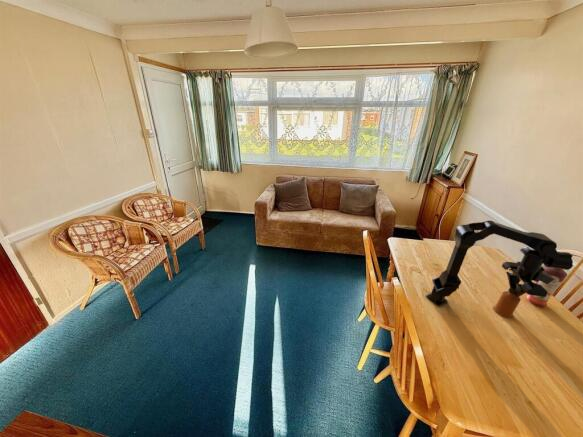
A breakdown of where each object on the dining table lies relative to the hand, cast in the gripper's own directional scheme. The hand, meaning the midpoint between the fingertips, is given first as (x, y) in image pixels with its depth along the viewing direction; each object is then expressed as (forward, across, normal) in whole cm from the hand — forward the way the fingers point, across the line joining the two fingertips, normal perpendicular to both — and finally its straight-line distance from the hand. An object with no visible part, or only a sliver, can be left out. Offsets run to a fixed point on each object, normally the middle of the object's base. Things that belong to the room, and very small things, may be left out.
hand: (514, 293), depth 98 cm
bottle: (+11, 0, 0) cm, 11 cm away
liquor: (+12, +11, -18) cm, 24 cm away
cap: (-2, 0, 0) cm, 2 cm away
